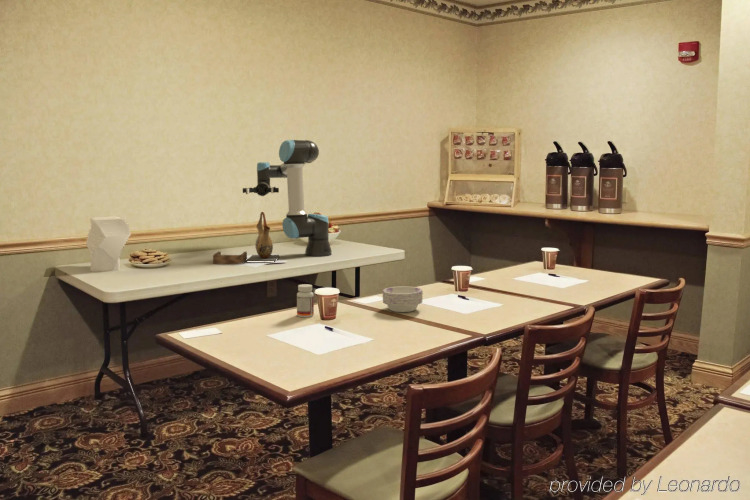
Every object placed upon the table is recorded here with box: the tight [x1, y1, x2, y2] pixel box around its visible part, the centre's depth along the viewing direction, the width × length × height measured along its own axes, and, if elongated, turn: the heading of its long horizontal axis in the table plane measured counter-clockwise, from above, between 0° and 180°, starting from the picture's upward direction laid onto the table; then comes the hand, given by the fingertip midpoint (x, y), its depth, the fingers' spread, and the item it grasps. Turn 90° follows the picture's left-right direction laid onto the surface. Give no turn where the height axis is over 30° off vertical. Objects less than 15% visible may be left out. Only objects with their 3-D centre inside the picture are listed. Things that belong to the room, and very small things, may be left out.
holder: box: [212, 251, 248, 265], centre depth 363 cm, size 15×13×4 cm
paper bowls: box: [382, 285, 424, 313], centre depth 259 cm, size 15×15×8 cm
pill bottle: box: [296, 283, 315, 318], centre depth 248 cm, size 6×6×11 cm
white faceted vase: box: [85, 215, 132, 272], centre depth 342 cm, size 21×27×26 cm
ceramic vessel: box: [255, 211, 274, 258], centre depth 368 cm, size 16×9×25 cm, turn 27°
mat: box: [246, 254, 280, 263], centre depth 371 cm, size 15×18×1 cm
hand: (259, 191), depth 377 cm, fingers open, 13 cm apart
